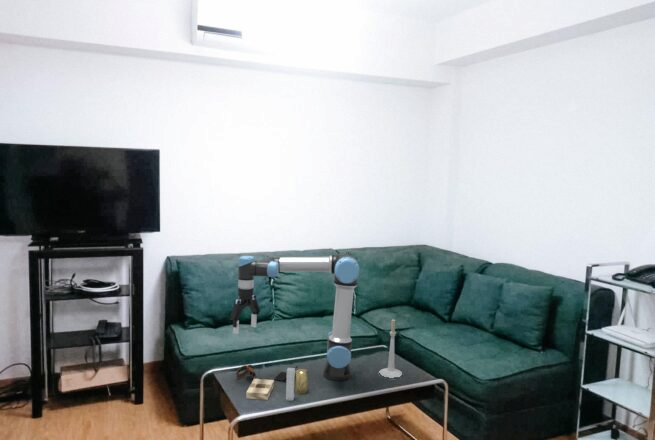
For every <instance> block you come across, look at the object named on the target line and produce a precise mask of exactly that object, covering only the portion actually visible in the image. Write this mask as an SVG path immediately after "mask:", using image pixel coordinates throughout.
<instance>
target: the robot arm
mask: <svg viewBox="0 0 655 440" xmlns="http://www.w3.org/2000/svg"><path fill="white" fill-rule="evenodd" d="M360 269H361V268H360V265H359V262H358V260H357V258H356V257H355V256H353V255H352V254H349V253H343V254H330V255H329V256H296V257H295V256H276V257H275V256H273V255H270V256H267V257H265V258H264V259H263V260H255V257H254V256H253V255H252V256H251V255H242V256H240V257H239V259H238V273H237V275H238V276H237V277H238V280H237V281H238V282H237V284H238V285H237V286H238V287H237V296H238V297H239V299H234V302H233V303H234V304H233V307H232V309H231V313H230V317H229V320H230V321H232V329H233V330H232V334H235V335H239V329H240V320H239V318H240V315H241V313H242V312H243V310H244V309H245V308H249V310H250V311H251V314H250V315H251V319H250V320H251V321H250V327H252V328H257V320H258V315H260V312H261V310H260V306H259V303H258V299H257V294H256V295H255V293H254V292H255V291H254V287H255V286H254V283H255V280H254V279H255V277H270V278H274V277H278V275H279V273H281V272H283V273H285V272H287V273H294V272H296V273H298V272H299V273H300V272H302V273H305V272H306V273H313V272H314V273H317V272H319V273H323V272H325V273H330V274H334V275H333V285H334V286H335V287H336V289H335V297H334V298H335V299H334V307H333V309H334V310H333V318H332V319H333V320H332V330H331V331H329V332H328V333H327V344H326V345H327V348H326V362H325V365H324V368H323V371H322V376H323V378H326V379H327V380H331V381H340V382H341V380H342V381H347V380H346V379H348V380H349V378H350V379H351V378H352V377H353V370H352V367H351V364H350V362H351V359H352V344H353V343H352V342H353V339H352V338H351V331H350V330H351V322H352V314H353V313H352V311H353V304H354V303H353V301H354V300H353V299H354V292H355V291H354V290H355V288H357V286H358V281H359V276H360ZM351 376H352V377H351Z"/></svg>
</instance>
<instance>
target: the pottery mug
mask: <svg viewBox="0 0 655 440" xmlns="http://www.w3.org/2000/svg"><path fill="white" fill-rule="evenodd" d="M242 371H243V372H242ZM235 375H236V378H235V379H237V380H243V379H244V380H245V379H246V376H252V378H253V380H254V379H258V378H257V375H256V372H255V370H254V367H253V365H252V364H248V365H247V364H246V365H242V366H241V367H239V368H238V369H237V371H236V372H235Z"/></svg>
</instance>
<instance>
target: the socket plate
mask: <svg viewBox="0 0 655 440" xmlns="http://www.w3.org/2000/svg"><path fill="white" fill-rule="evenodd" d="M274 386H275V381H274V379H266V378H264V379H262V378H257V379H254V378H253V380H252V381H251V383H250V385H249V387H248V389H247V390H246V393H245V399H247V400H261V401H268V400H269V398H270V395H271V393H272V391H273V389H274Z"/></svg>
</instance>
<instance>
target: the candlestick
mask: <svg viewBox="0 0 655 440" xmlns="http://www.w3.org/2000/svg"><path fill="white" fill-rule="evenodd" d="M390 324H391V325H390V331H389V335H390V341H389V342H390V343H389V344H390V345H389V350H388V351H389V353H388V362H387V367H385V368H382V369H380V370H379V372H378V374H379V373H380V374H381V375H382V376H384V377H389V378H394V377H400V376H401V375H402V373H403V372H402V371H401V370H399V369H397V368H396V367H395V365H396V364H395V336H396V334H397V332H396V319H394V318H393V319H391V323H390Z"/></svg>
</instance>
